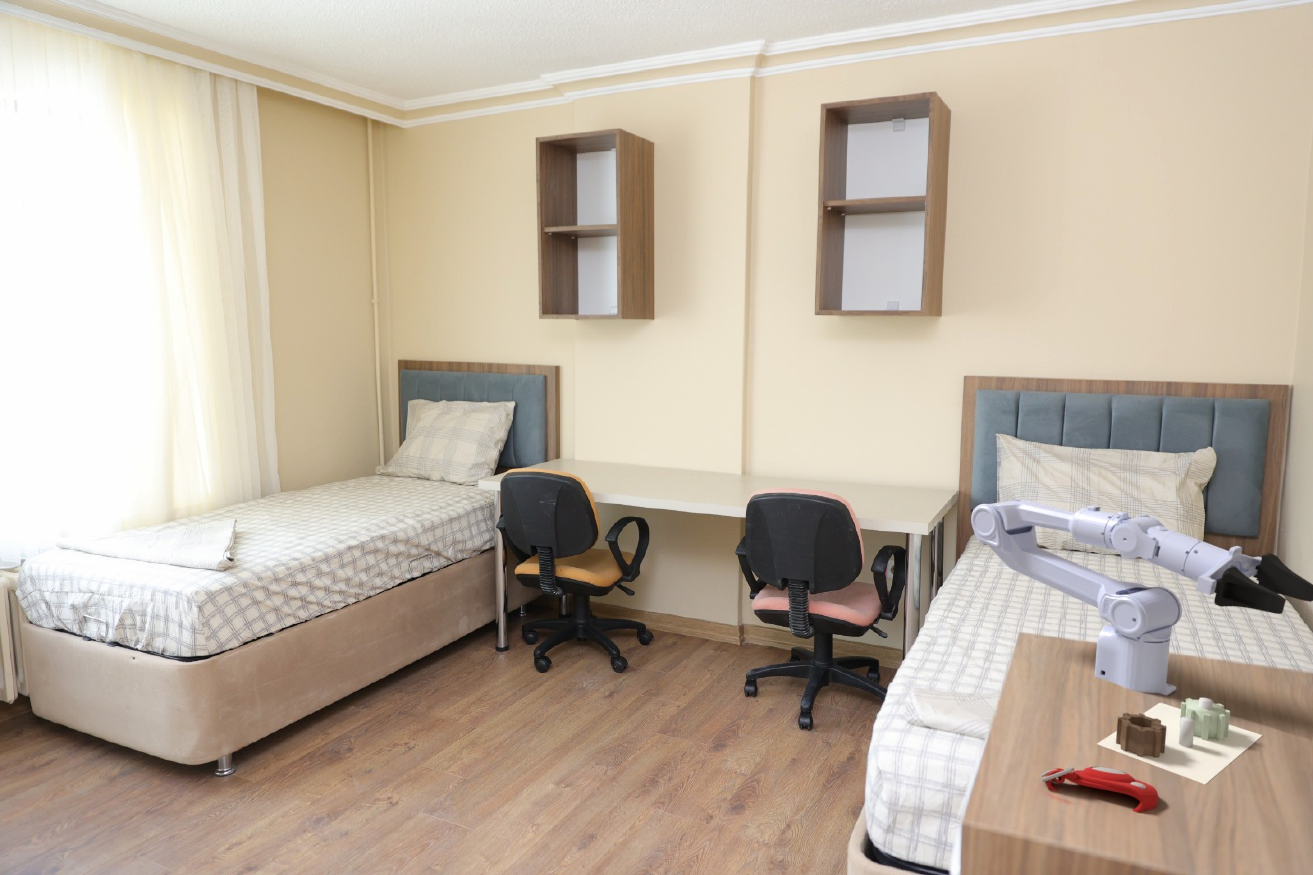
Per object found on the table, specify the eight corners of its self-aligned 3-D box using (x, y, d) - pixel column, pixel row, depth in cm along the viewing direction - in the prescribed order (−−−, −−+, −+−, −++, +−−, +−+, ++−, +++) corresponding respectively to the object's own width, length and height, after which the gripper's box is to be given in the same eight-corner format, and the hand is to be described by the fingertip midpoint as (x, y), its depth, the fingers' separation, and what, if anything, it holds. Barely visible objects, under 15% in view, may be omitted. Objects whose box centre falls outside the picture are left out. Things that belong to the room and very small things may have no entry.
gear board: (1096, 751, 117) (1099, 711, 116) (1159, 708, 129) (1162, 673, 129) (1204, 792, 107) (1208, 749, 106) (1261, 742, 119) (1265, 703, 118)
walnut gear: (1109, 745, 116) (1111, 720, 116) (1127, 733, 120) (1129, 709, 119) (1152, 761, 112) (1155, 736, 112) (1170, 748, 115) (1172, 723, 115)
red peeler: (1100, 761, 112) (1175, 779, 103) (1100, 797, 112) (1175, 819, 103) (1031, 759, 108) (1103, 778, 99) (1030, 797, 107) (1103, 819, 98)
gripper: (1171, 543, 123) (1275, 584, 111) (1231, 526, 129) (1335, 562, 118) (1161, 589, 125) (1262, 633, 113) (1220, 569, 131) (1321, 609, 120)
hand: (1298, 600), depth 116 cm, fingers open, 7 cm apart
